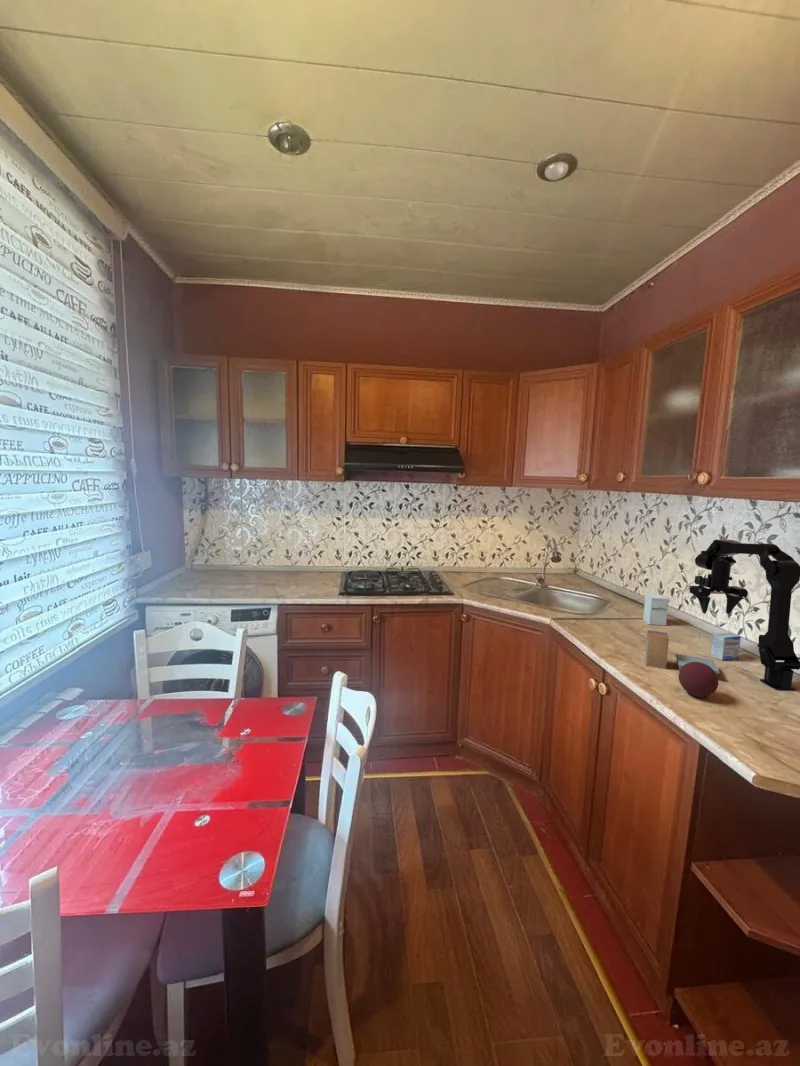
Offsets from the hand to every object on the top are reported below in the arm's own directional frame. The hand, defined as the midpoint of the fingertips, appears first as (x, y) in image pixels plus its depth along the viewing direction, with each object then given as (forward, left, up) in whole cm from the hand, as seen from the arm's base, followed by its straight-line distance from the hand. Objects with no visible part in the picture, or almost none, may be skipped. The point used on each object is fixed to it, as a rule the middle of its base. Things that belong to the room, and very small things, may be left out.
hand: (715, 613), depth 168 cm
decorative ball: (-34, +31, -15) cm, 49 cm away
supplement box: (+33, +2, -15) cm, 36 cm away
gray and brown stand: (-18, +19, -15) cm, 30 cm away
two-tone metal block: (-12, +30, -15) cm, 36 cm away
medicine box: (-6, 0, -15) cm, 16 cm away
